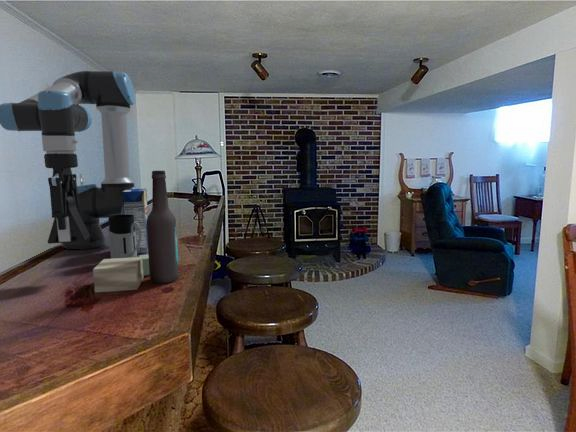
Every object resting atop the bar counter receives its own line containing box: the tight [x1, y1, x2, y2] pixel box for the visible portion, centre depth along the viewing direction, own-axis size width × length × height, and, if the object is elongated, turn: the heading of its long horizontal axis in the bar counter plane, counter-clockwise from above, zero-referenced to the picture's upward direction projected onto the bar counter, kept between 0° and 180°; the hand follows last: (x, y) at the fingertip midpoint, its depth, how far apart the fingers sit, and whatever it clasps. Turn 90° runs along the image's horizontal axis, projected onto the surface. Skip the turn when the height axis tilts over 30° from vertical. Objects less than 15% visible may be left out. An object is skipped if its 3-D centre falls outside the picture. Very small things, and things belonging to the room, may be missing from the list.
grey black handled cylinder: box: [107, 214, 141, 259], centre depth 122 cm, size 9×14×15 cm, turn 55°
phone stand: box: [47, 195, 90, 244], centre depth 105 cm, size 9×6×12 cm, turn 105°
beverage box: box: [122, 188, 149, 255], centre depth 138 cm, size 7×11×22 cm, turn 16°
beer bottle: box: [147, 170, 179, 284], centre depth 104 cm, size 8×8×30 cm
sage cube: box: [138, 253, 150, 277], centre depth 113 cm, size 5×5×5 cm
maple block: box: [92, 256, 144, 293], centre depth 102 cm, size 10×10×6 cm
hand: (69, 238), depth 105 cm, fingers closed on phone stand, 6 cm apart
